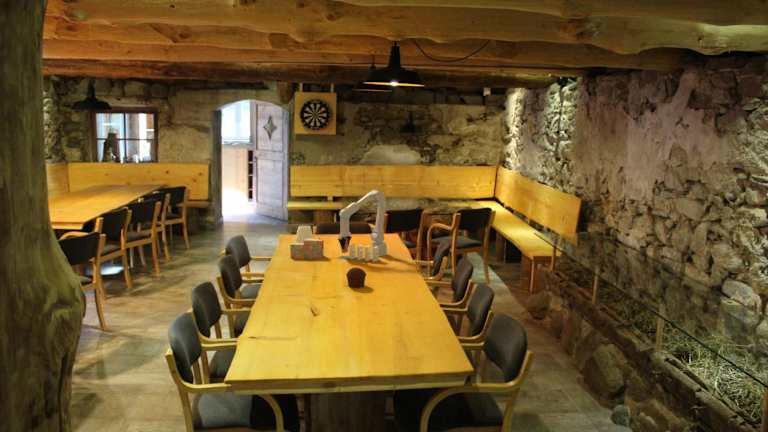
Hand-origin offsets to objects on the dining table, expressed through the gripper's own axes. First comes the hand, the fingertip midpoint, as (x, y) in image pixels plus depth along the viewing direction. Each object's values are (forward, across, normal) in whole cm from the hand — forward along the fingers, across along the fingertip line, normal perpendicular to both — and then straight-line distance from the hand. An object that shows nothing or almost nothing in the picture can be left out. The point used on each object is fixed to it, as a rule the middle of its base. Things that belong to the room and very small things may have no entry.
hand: (344, 247), depth 402 cm
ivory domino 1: (+6, 0, +6) cm, 8 cm away
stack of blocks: (+8, +7, -24) cm, 27 cm away
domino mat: (+7, 0, +10) cm, 12 cm away
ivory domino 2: (+6, 0, +11) cm, 13 cm away
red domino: (+3, 0, 0) cm, 3 cm away
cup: (+7, -24, -44) cm, 51 cm away
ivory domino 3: (+6, 0, +16) cm, 18 cm away
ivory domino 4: (+6, 0, +22) cm, 23 cm away
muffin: (+7, +56, +35) cm, 66 cm away
